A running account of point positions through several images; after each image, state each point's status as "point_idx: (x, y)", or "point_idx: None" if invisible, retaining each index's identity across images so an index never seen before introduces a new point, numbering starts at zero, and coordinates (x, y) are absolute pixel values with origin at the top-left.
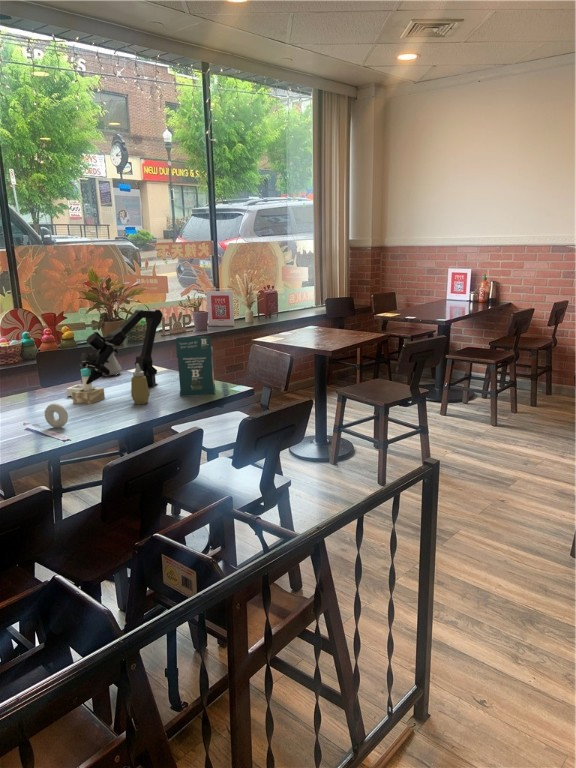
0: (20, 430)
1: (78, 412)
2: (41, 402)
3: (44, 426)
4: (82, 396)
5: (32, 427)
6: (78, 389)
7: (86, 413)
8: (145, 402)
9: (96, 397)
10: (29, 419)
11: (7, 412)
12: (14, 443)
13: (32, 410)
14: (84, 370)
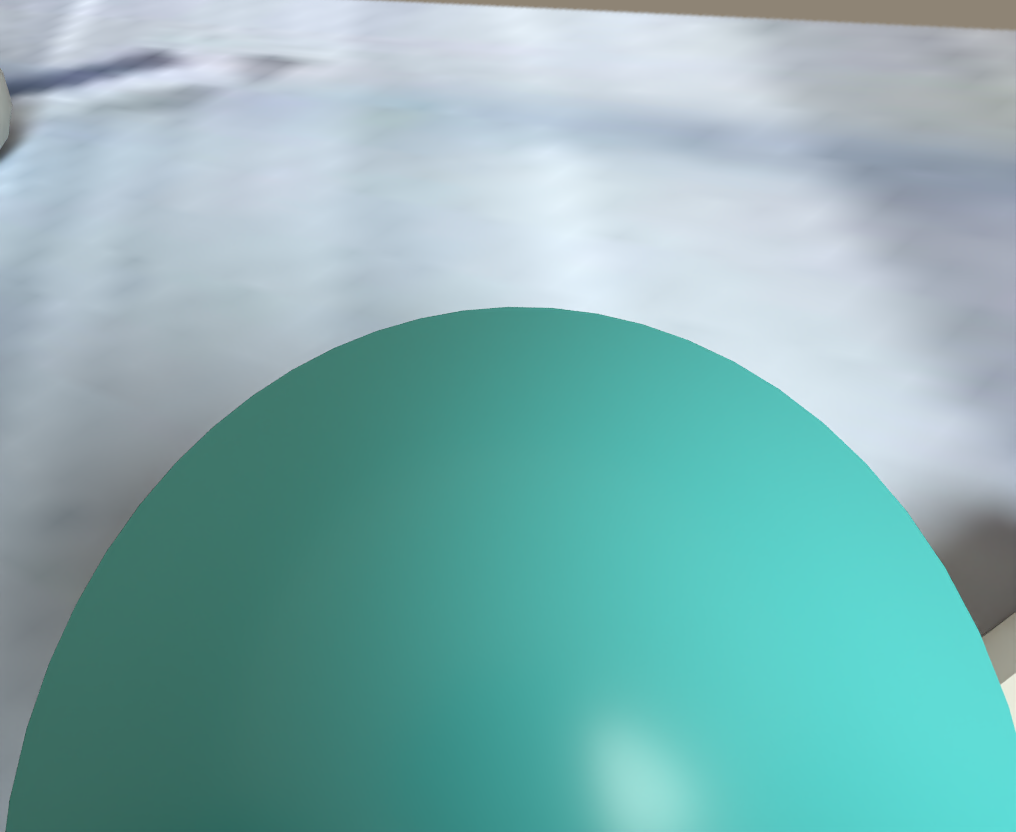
0: (171, 35)
1: (144, 388)
2: (912, 236)
3: (91, 124)
4: None
5: (153, 79)
6: (1004, 679)
7: (26, 433)
8: None
9: None
10: (354, 89)
11: (703, 20)
12: (3, 3)
13: (614, 134)
14: (191, 455)
